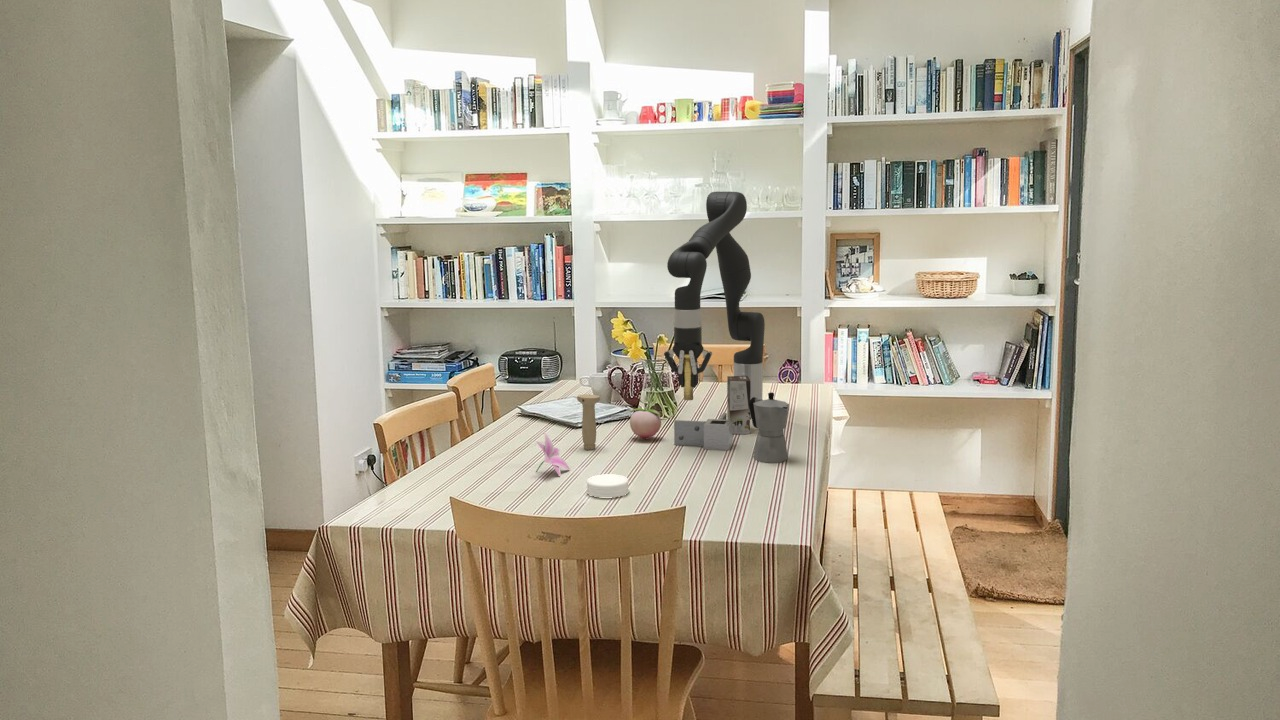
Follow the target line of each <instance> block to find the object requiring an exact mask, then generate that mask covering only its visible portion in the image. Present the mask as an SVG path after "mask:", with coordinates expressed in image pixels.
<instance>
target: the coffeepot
mask: <svg viewBox="0 0 1280 720" xmlns="http://www.w3.org/2000/svg"><path fill="white" fill-rule="evenodd" d="M767 394H768V395H767V396H768V399H763V398H762V399H760V398H756V397H753V398H752V399H751V400H750V401H749V409H750V414H751V418H750V419H751V422H752V426H753V427H754V428H757V429H758V430H757V431H758V434H757V435H756V439H755V445H754V450H753V456H752V457H753V459H754V460H755V461H756V460H757V462H759V461H760V462H761V463H765V464H778V463H783V462H786V461H787V460H789V456H788V449H787V444H786V443H787V441H786V437H785V435H784V432H785V431H784V430H785V429H786V427H787V420H788V414H789V410H790V408H789V407H790V404H789V402H786V401H783V400H779V399H774V397H775V393H774V392H768V393H767Z"/></svg>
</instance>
